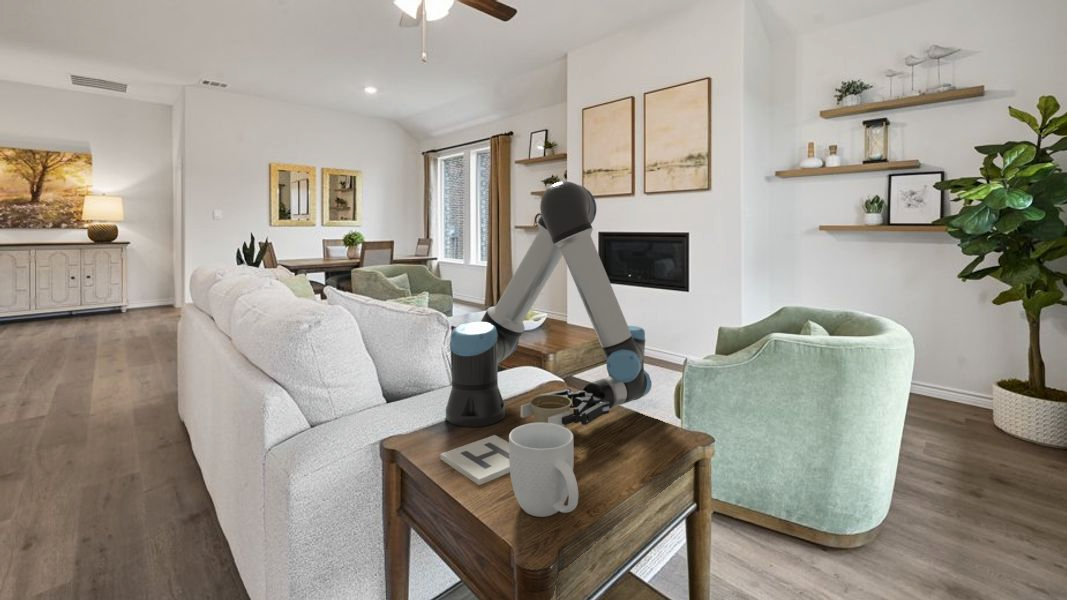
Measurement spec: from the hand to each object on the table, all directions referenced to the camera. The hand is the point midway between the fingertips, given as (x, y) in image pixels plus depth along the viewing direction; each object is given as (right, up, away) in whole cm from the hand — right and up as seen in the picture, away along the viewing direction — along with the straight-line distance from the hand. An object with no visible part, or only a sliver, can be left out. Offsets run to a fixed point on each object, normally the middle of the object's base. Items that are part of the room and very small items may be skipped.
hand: (535, 417), depth 106 cm
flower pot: (+4, -6, +4) cm, 8 cm away
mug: (+2, -10, -22) cm, 25 cm away
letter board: (-10, -8, -5) cm, 13 cm away
